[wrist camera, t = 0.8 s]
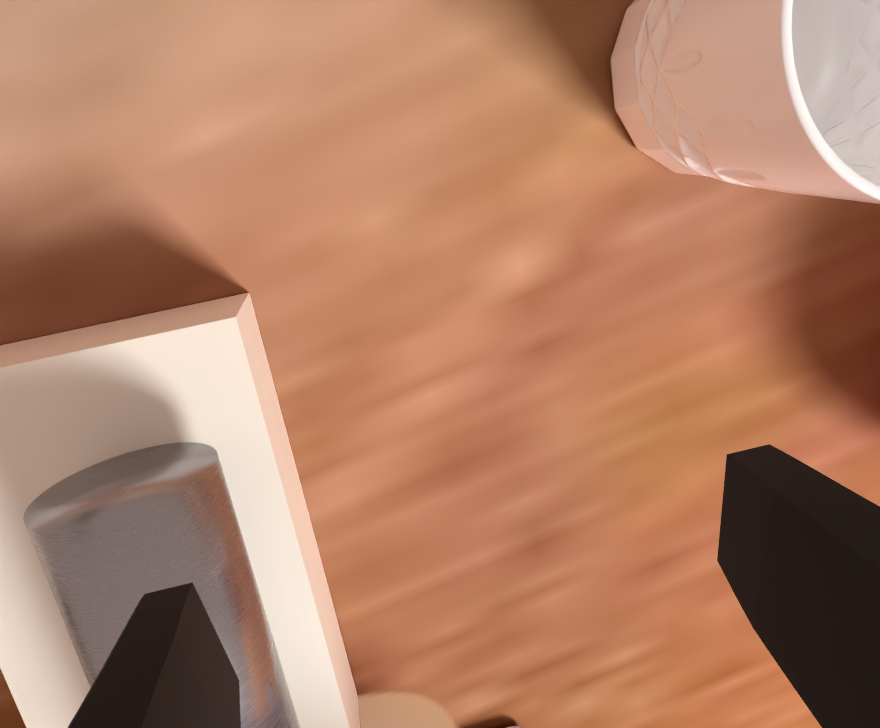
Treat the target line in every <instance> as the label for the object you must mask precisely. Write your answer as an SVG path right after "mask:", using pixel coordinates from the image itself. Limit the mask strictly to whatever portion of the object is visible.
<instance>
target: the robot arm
mask: <svg viewBox="0 0 880 728" xmlns="http://www.w3.org/2000/svg"><path fill="white" fill-rule="evenodd" d="M717 560H718V562H719V564H720V566H721V568H722V570H723V572H724V574H725V576H726V578H727V580H728V582H729V584H730V586H731V588H732V590H733V592H734V594H735V595H736V597H737V599H738V601H739V603H740V605H741V606H742V608H743V610H744V612H745V614H746V616H747V617H748V619H749V621H750V623H751V625H752V627H753V628H754V630H755V631H756V633H757V634H758V636H759V637H760V639H761V640H762V642H763V643H764V645H765V646H766V648H767V649H768V650H769V652H770V653H771V655H772V656H773V658H774V659H775V661H776V662H777V664H778V665H779V666H780V668H781V669H782V671H783V672H784V674H785V675H786V677H787V678H788V679H789V681H790V682H791V684H792V685H793V687H794V688H795V690H796V691H797V692H798V694H799V695H800V697H801V698H802V700H803V701H804V702H805V704H806V705H807V707H808V708H809V710H810V711H811V712H812V714H813V715H814V717H815V718H816V720H817V721H818V722H819V724H820V725H821V727H822V728H880V507H879V506H877V505H876V504H874V503H872V502H870V501H869V500H867V499H865V498H863V497H862V496H860V495H858V494H856V493H855V492H853V491H851V490H849V489H848V488H846V487H844V486H842V485H841V484H839V483H837V482H835V481H834V480H832V479H830V478H828V477H827V476H825V475H823V474H821V473H820V472H818V471H816V470H815V469H813V468H811V467H809V466H808V465H806V464H804V463H802V462H800V461H799V460H797V459H795V458H793V457H792V456H790V455H788V454H786V453H784V452H783V451H781V450H779V449H777V448H775V447H773V446H771V445H765V446H761V447H757V448H752V449H748V450H744V451H740V452H736V453H731V454H727V459H726V470H725V481H724V493H723V504H722V515H721V526H720V537H719V548H718V559H717ZM68 728H241V717H240V688H239V679H238V677H237V675H236V673H235V670H234V668H233V666H232V664H231V662H230V660H229V658H228V656H227V654H226V652H225V649H224V647H223V645H222V643H221V641H220V639H219V637H218V635H217V633H216V630H215V628H214V626H213V624H212V622H211V620H210V618H209V616H208V614H207V612H206V609H205V607H204V605H203V603H202V601H201V599H200V597H199V595H198V593H197V590H196V588H195V586H194V584H193V582H192V583H188V584H184V585H180V586H175V587H171V588H167V589H163V590H159V591H155V592H150V593H146V594H144V595H143V597H142V598H141V600H140V601H139V603H138V604H137V606H136V608H135V610H134V612H133V613H132V615H131V617H130V619H129V620H128V622H127V624H126V626H125V628H124V629H123V631H122V633H121V635H120V637H119V638H118V640H117V642H116V644H115V646H114V647H113V649H112V651H111V653H110V655H109V656H108V658H107V660H106V662H105V664H104V665H103V667H102V669H101V671H100V672H99V674H98V676H97V678H96V679H95V681H94V683H93V685H92V686H91V688H90V690H89V692H88V694H87V695H86V697H85V699H84V701H83V702H82V704H81V706H80V708H79V709H78V711H77V713H76V714H75V716H74V718H73V719H72V721H71V723H70V724H69V726H68ZM507 728H520V727H518V726H511V727H507Z"/></svg>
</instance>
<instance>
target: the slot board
mask: <svg viewBox="0 0 880 728" xmlns="http://www.w3.org/2000/svg"><path fill="white" fill-rule="evenodd" d="M182 442H193V443H202V444H206V445H209V446H211V447H213V448H214V449H215V450H216V451H217V454H218V457H219V460H220V463H221V467H222V470H223V473H224V477H225V480H226V483H227V487H228V490H229V493H230V497H231V500H232V503H233V507H234V510H235V513H236V516H237V520H238V523H239V526H240V530H241V533H242V536H243V540H244V543H245V546H246V550H247V553H248V556H249V560H250V563H251V566H252V570H253V573H254V576H255V579H256V583H257V586H258V589H259V593H260V596H261V599H262V603H263V606H264V609H265V613H266V616H267V619H268V623H269V626H270V629H271V632H272V636H273V639H274V642H275V646H276V649H277V652H278V656H279V659H280V662H281V666H282V669H283V672H284V676H285V679H286V682H287V686H288V689H289V692H290V695H291V699H292V702H293V705H294V709H295V712H296V715H297V719H298V722H299V725H300V728H361V726H360V714H359V700H358V695H357V692H356V688H355V684H354V680H353V677H352V673H351V669H350V666H349V662H348V658H347V654H346V651H345V647H344V643H343V640H342V636H341V632H340V628H339V625H338V621H337V617H336V614H335V610H334V606H333V602H332V599H331V595H330V591H329V587H328V584H327V580H326V576H325V573H324V569H323V565H322V561H321V558H320V554H319V550H318V547H317V543H316V539H315V535H314V532H313V528H312V524H311V521H310V517H309V513H308V509H307V506H306V502H305V498H304V494H303V491H302V487H301V483H300V480H299V476H298V472H297V468H296V465H295V461H294V457H293V454H292V450H291V446H290V442H289V439H288V435H287V431H286V428H285V424H284V420H283V416H282V413H281V409H280V405H279V402H278V398H277V394H276V390H275V387H274V383H273V379H272V375H271V372H270V368H269V364H268V361H267V357H266V353H265V349H264V346H263V342H262V338H261V335H260V331H259V327H258V323H257V320H256V316H255V312H254V309H253V305H252V301H251V297H250V294H249V293H244V294H239V295H235V296H230V297H225V298H221V299H216V300H211V301H207V302H202V303H197V304H193V305H188V306H183V307H178V308H174V309H169V310H164V311H160V312H155V313H150V314H146V315H141V316H136V317H131V318H127V319H122V320H117V321H113V322H108V323H103V324H99V325H94V326H89V327H85V328H80V329H75V330H70V331H66V332H61V333H56V334H52V335H47V336H42V337H38V338H33V339H28V340H23V341H19V342H14V343H9V344H5V345H0V668H1V671H2V673H3V675H4V678H5V680H6V682H7V684H8V687H9V689H10V691H11V694H12V696H13V698H14V701H15V703H16V705H17V707H18V710H19V712H20V714H21V717H22V719H23V721H24V723H25V726H26V728H68V726H69V724H70V723H71V721H72V719H73V718H74V716H75V714H76V713H77V711H78V709H79V708H80V706H81V704H82V702H83V701H84V699H85V697H86V695H87V694H88V692H89V690H90V686H89V684H88V681H87V679H86V676H85V674H84V671H83V669H82V666H81V664H80V661H79V658H78V656H77V653H76V651H75V648H74V646H73V643H72V641H71V638H70V636H69V633H68V631H67V628H66V626H65V623H64V621H63V618H62V616H61V613H60V611H59V608H58V606H57V603H56V601H55V598H54V596H53V593H52V591H51V588H50V586H49V583H48V581H47V578H46V576H45V573H44V571H43V568H42V565H41V563H40V560H39V558H38V555H37V553H36V550H35V548H34V545H33V543H32V540H31V538H30V535H29V533H28V530H27V528H26V525H25V523H24V520H23V517H24V513H25V511H26V509H27V508H28V506H29V505H30V504H31V503H32V502H33V501H34V500H35V499H36V498H37V497H38V496H39V495H40V494H42V493H43V492H44V491H46V490H47V489H49V488H50V487H52V486H53V485H55V484H56V483H58V482H60V481H61V480H63V479H65V478H67V477H69V476H71V475H73V474H75V473H76V472H79V471H81V470H83V469H85V468H87V467H90V466H92V465H94V464H97V463H99V462H102V461H105V460H107V459H110V458H113V457H116V456H119V455H122V454H125V453H129V452H132V451H136V450H140V449H144V448H148V447H153V446H158V445H164V444H171V443H182Z"/></svg>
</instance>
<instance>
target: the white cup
mask: <svg viewBox="0 0 880 728" xmlns="http://www.w3.org/2000/svg"><path fill="white" fill-rule="evenodd" d="M611 72H612V84H613V95H614V107H615V110H616V112H617V114H618V116H619V117H620V119H621V121H622V123H623V125H624V126H625V128H626V130H627V132H628V133H629V135H630V137H631V139H632V141H633V142H634V144H635V146H636V148H637V149H638V150H640V151H641V152H643V153H644V154H646V155H647V156H649V157H650V158H652V159H653V160H655V161H656V162H658V163H659V164H661V165H663V166H664V167H666V168H667V169H669V170H670V171H672V172H674V173H681V174H692V175H703V176H709V177H712V178H715V179H718V180H721V181H724V182H727V183H731V184H739V185H744V186H750V187H756V188H763V189H769V190H774V191H779V192H785V193H792V194H803V195H812V196H820V197H828V198H837V199H845V200H853V201H861V202H869V203H877V204H880V0H634V1H633V2H632V4H631V5H630V6H629V7H628V8H627V10H626V12H625V15H624V18H623V21H622V25H621V28H620V31H619V34H618V37H617V40H616V43H615V46H614V49H613V53H612V56H611Z"/></svg>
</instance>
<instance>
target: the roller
mask: <svg viewBox="0 0 880 728" xmlns="http://www.w3.org/2000/svg"><path fill="white" fill-rule="evenodd" d="M23 520H24V523H25V525H26V528H27V530H28V533H29V535H30V538H31V540H32V543H33V545H34V548H35V550H36V553H37V555H38V558H39V560H40V563H41V565H42V568H43V571H44V573H45V576H46V578H47V581H48V583H49V586H50V588H51V591H52V593H53V596H54V598H55V601H56V603H57V606H58V608H59V611H60V613H61V616H62V618H63V621H64V623H65V626H66V628H67V631H68V633H69V636H70V638H71V641H72V643H73V646H74V648H75V651H76V653H77V656H78V658H79V661H80V664H81V666H82V669H83V671H84V674H85V676H86V679H87V681H88V684H89V686H90V688H91V686H92V685H93V683H94V681H95V679H96V678H97V676H98V674H99V672H100V671H101V669H102V667H103V665H104V664H105V662H106V660H107V658H108V656H109V655H110V653H111V651H112V649H113V647H114V646H115V644H116V642H117V640H118V638H119V637H120V635H121V633H122V631H123V629H124V628H125V626H126V624H127V622H128V620H129V619H130V617H131V615H132V613H133V612H134V610H135V608H136V606H137V604H138V603H139V601H140V600H141V598H142V597H143V595H144V594H146V593H150V592H155V591H159V590H163V589H167V588H171V587H175V586H180V585H184V584H188V583H192V582H193V584H194V586H195V588H196V590H197V593H198V595H199V597H200V599H201V601H202V603H203V605H204V607H205V609H206V612H207V614H208V616H209V618H210V620H211V622H212V624H213V626H214V628H215V630H216V633H217V635H218V637H219V639H220V641H221V643H222V645H223V647H224V649H225V652H226V654H227V656H228V658H229V660H230V662H231V664H232V666H233V668H234V670H235V673H236V675H237V677H238V679H239V688H240V717H241V728H300V725H299V722H298V719H297V715H296V712H295V709H294V705H293V702H292V699H291V695H290V692H289V689H288V686H287V682H286V679H285V676H284V672H283V669H282V666H281V662H280V659H279V656H278V652H277V649H276V646H275V642H274V639H273V636H272V632H271V629H270V626H269V623H268V619H267V616H266V613H265V609H264V606H263V603H262V599H261V596H260V593H259V589H258V586H257V583H256V579H255V576H254V573H253V570H252V566H251V563H250V560H249V556H248V553H247V550H246V546H245V543H244V540H243V536H242V533H241V530H240V526H239V523H238V520H237V516H236V513H235V510H234V507H233V503H232V500H231V497H230V493H229V490H228V487H227V483H226V480H225V477H224V473H223V470H222V467H221V463H220V460H219V457H218V454H217V451H216V450H215V449H214V448H213V447H211V446H209V445H206V444H202V443H193V442H182V443H171V444H164V445H158V446H153V447H148V448H144V449H140V450H136V451H132V452H129V453H125V454H122V455H119V456H116V457H113V458H110V459H107V460H105V461H102V462H99V463H97V464H94V465H92V466H90V467H87V468H85V469H83V470H81V471H79V472H76V473H75V474H73V475H71V476H69V477H67V478H65V479H63V480H61V481H60V482H58V483H56V484H55V485H53V486H52V487H50V488H49V489H47V490H46V491H44V492H43V493H42V494H40V495H39V496H38V497H37V498H36V499H35V500H34V501H33V502H32V503H31V504H30V505H29V506H28V508H27V509H26V511H25V513H24V517H23Z"/></svg>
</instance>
